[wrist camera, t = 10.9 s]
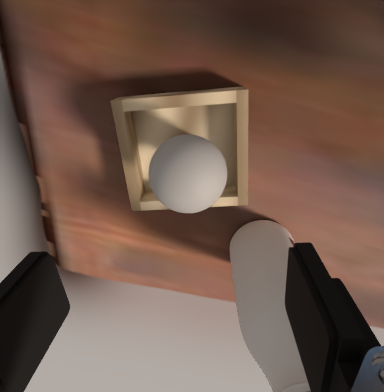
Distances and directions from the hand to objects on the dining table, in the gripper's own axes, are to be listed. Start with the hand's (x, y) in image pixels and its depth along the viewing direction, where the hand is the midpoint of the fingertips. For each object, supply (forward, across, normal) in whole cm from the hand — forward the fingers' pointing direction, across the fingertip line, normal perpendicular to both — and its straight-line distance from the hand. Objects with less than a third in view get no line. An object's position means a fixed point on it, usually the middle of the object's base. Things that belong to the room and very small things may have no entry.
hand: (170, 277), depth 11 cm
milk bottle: (+21, -7, +13) cm, 26 cm away
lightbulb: (+20, 0, 0) cm, 20 cm away
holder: (+20, +1, 0) cm, 20 cm away
